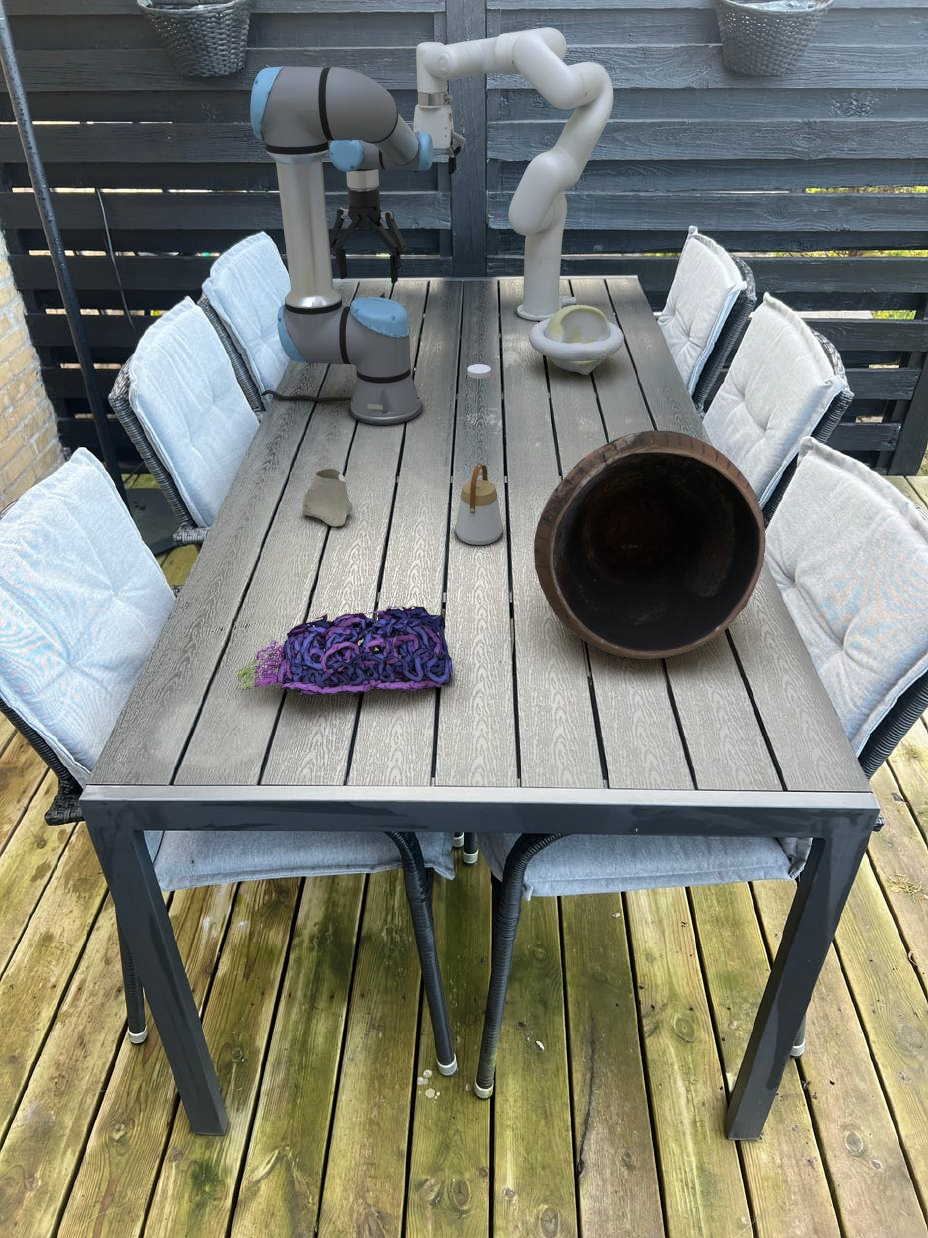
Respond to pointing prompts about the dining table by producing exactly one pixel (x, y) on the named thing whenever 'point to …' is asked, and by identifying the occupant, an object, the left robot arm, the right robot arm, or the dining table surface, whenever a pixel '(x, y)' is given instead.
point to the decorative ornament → (358, 654)
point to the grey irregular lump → (327, 498)
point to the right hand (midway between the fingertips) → (434, 172)
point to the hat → (576, 338)
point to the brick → (372, 294)
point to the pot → (650, 545)
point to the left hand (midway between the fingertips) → (369, 279)
